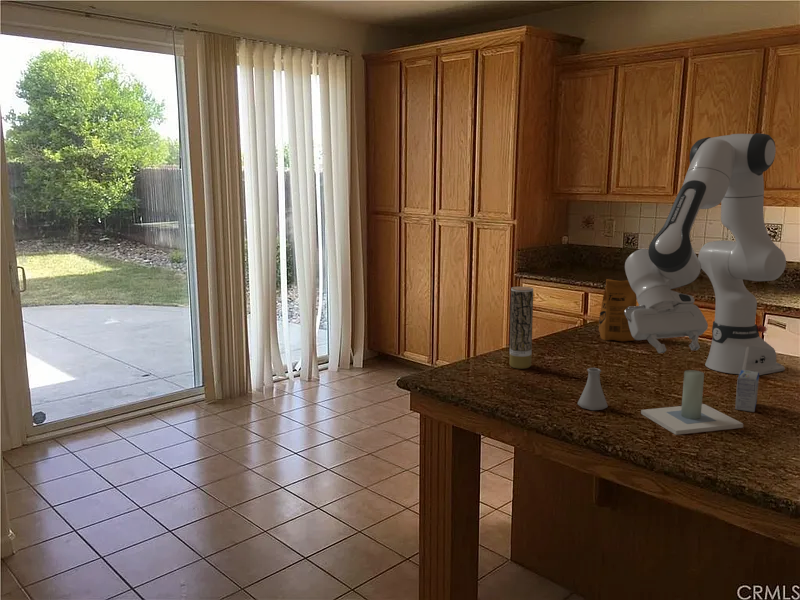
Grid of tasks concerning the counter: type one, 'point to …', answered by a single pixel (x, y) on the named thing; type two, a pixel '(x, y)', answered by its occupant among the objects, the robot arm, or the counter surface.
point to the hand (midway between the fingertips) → (679, 350)
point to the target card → (691, 420)
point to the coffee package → (616, 311)
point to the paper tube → (521, 327)
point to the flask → (593, 392)
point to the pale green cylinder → (692, 394)
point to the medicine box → (747, 390)
